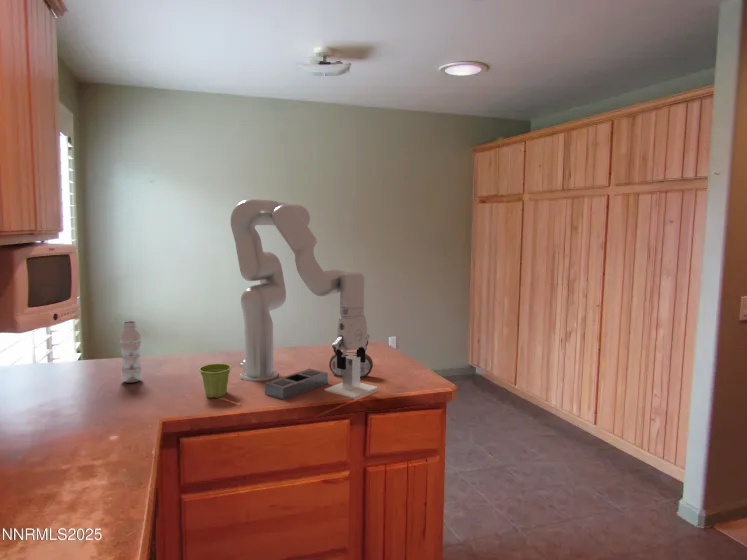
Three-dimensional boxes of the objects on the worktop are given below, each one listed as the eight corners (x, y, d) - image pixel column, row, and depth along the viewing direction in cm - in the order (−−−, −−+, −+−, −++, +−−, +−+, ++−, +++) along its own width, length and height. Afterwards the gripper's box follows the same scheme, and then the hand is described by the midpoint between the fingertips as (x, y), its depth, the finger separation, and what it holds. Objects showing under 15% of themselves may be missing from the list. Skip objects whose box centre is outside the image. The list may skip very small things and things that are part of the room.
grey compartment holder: (264, 395, 165) (264, 382, 164) (309, 380, 181) (309, 368, 180) (283, 401, 160) (283, 387, 160) (327, 384, 176) (327, 372, 176)
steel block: (342, 388, 170) (342, 357, 168) (350, 385, 173) (350, 354, 172) (352, 390, 167) (352, 359, 166) (360, 387, 170) (360, 356, 169)
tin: (372, 376, 186) (373, 352, 185) (371, 378, 183) (372, 354, 182) (330, 374, 188) (330, 350, 187) (328, 376, 185) (328, 353, 184)
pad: (324, 391, 169) (324, 388, 169) (348, 382, 178) (348, 379, 178) (354, 400, 162) (354, 396, 162) (377, 390, 171) (377, 387, 171)
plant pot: (211, 402, 158) (210, 374, 157) (193, 395, 164) (193, 367, 163) (237, 395, 165) (237, 367, 164) (220, 388, 171) (219, 361, 170)
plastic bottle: (134, 377, 181) (131, 319, 178) (147, 381, 177) (144, 321, 175) (116, 382, 175) (113, 322, 173) (129, 386, 172) (126, 325, 170)
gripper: (343, 317, 158) (342, 373, 160) (378, 309, 172) (377, 361, 174) (324, 314, 162) (324, 369, 164) (359, 306, 176) (359, 357, 178)
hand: (351, 365), depth 169 cm, fingers open, 9 cm apart
